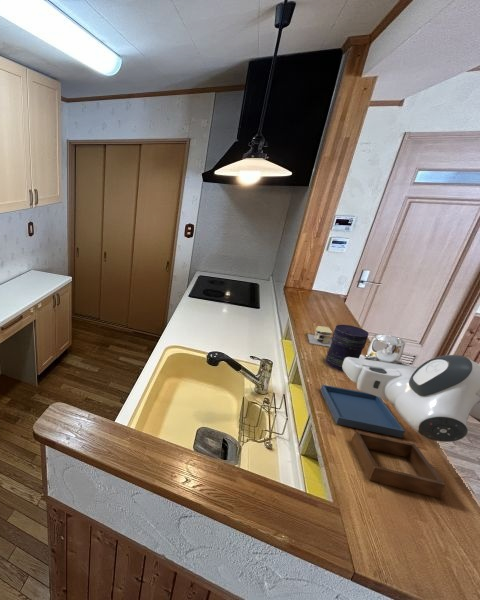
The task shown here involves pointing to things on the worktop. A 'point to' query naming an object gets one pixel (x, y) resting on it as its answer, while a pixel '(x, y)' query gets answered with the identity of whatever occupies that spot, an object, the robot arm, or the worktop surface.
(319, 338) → the stacked layers on plate
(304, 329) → the worktop surface
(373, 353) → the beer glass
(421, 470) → the wooden square box
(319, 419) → the worktop surface
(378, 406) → the tray
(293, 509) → the worktop surface
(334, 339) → the navy layered cylinder
